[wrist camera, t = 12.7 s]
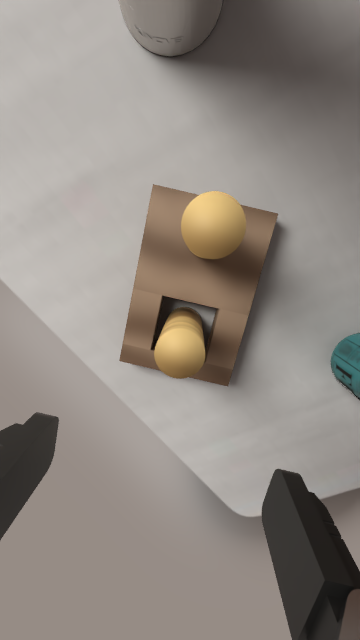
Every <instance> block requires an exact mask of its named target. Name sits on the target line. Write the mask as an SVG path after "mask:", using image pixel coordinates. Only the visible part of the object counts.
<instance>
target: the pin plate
mask: <svg viewBox="0 0 360 640" xmlns="http://www.w3.org/2000/svg"><path fill="white" fill-rule="evenodd" d="M277 216H278V214H277V213H273V212H269V211H264V210H260V209H256V208H252V207H247V206H243V205H240V204H239V203H238V202H237V200H235V199H234V198H233V197H232V196H230V195H228V194H226V193H223V192H218V191H212V192H206V193H203V194H201V195H196V194H192V193H188V192H184V191H179V190H175V189H171V188H167V187H162V186H158V185H154V184H153V188H152V193H151V198H150V203H149V209H148V214H147V219H146V224H145V230H144V235H143V240H142V245H141V251H140V256H139V261H138V266H137V271H136V277H135V282H134V287H133V292H132V298H131V303H130V308H129V313H128V319H127V324H126V329H125V334H124V340H123V345H122V350H121V355H120V361H122V362H126V363H130V364H135V365H139V366H143V367H147V368H152V369H156V370H160V369H159V367H158V366H157V364H156V362H155V357H154V350H155V346H156V344H155V343H154V339H155V334H156V330H157V325H158V320H159V316H160V311H161V307H162V302H163V297H164V296H167V297H171V298H176V299H180V300H184V301H188V302H193V303H197V304H201V305H205V306H210V307H214V308H217V309H216V313H215V317H214V321H213V325H212V328H211V332H210V336H209V340H208V344H207V347H206V351H205V361H204V364H203V366H202V367H201V369H200V370H199V371H198V372H197V373H196V374H194V375H192V376H190V378H194V379H199V380H203V381H207V382H212V383H216V384H220V385H224V386H228V384H229V381H230V378H231V374H232V371H233V367H234V364H235V360H236V357H237V353H238V350H239V347H240V343H241V340H242V336H243V333H244V329H245V326H246V323H247V319H248V316H249V312H250V309H251V305H252V302H253V298H254V295H255V292H256V288H257V285H258V281H259V278H260V274H261V271H262V268H263V264H264V261H265V257H266V254H267V250H268V247H269V243H270V240H271V237H272V233H273V230H274V226H275V223H276V219H277ZM160 371H161V370H160Z"/></svg>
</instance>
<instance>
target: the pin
mask: <svg viewBox="0 0 360 640" xmlns="http://www.w3.org/2000/svg"><path fill="white" fill-rule="evenodd" d="M154 357H155V362H156V364H157V366H158V367H159V369H160V370H161V371H162V372H163V373H165V374H166V375H168V376H170V377H173V378H187V377H190V376H192V375H194V374H196V373H197V372H198V371H199V370H200V369H201V367H202V366H203V364H204V361H205V346H204V337H203V329H202V321H201V318H200V316H199V314H198V313H197V312H196V311H195V310H193V309H191V308H188V307H180V308H177V309H175V310H173V311H172V312H171V313H170V314H169V316H168V318H167V320H166V323H165V325H164V327H163V330H162V332H161V334H160V337H159V339H158V341H157V344H156V346H155V350H154Z"/></svg>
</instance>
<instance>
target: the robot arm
mask: <svg viewBox="0 0 360 640" xmlns="http://www.w3.org/2000/svg"><path fill="white" fill-rule="evenodd" d="M118 1H119V4H120V8H121V11H122V14H123V17H124V20H125V22H126V25H127V27H128V29H129V30H130V32H131V34H132V35H133V37H134V38H135V39H136V40H137V41H138V42H139V43H140V44H141V45H142V46H143V47H145V48H146V49H148V50H149V51H151V52H154V53H156V54H159V55H165V56H176V55H182V54H184V53H187V52H189V51H192V50H193V49H194V48H196V47H197V46H199V45H200V44H201V43H202V42H203V41H204V40H205V39H206V38H207V37H208V36H209V34H210V33H211V31H212V30H213V28H214V26H215V25H216V22H217V20H218V17H219V15H220V12H221V7H222V2H223V0H118ZM58 422H59V419H58V417H55V416H51V415H47V414H43V413H35V414H34V415H33V416H32V417H31V418H29V419H28V420H27V421H26V422H25V423H24V424H23V425H21V424H14V425H12V426H9V427H8V428H5V429H3V430H1V431H0V540H1V538H2V537H3V535H4V534H5V532H6V531H7V530H8V528H9V527H10V525H11V524H12V522H13V521H14V519H15V518H16V516H17V515H18V513H19V512H20V510H21V509H22V507H23V506H24V505H25V503H26V502H27V500H28V499H29V497H30V496H31V494H32V493H33V491H34V490H35V488H36V487H37V486H38V484H39V483H40V481H41V480H42V478H43V477H44V475H45V474H46V472H47V471H48V469H49V467H50V465H51V462H52V459H53V456H54V451H55V443H56V437H57V430H58ZM262 522H263V527H264V531H265V535H266V538H267V543H268V546H269V550H270V554H271V558H272V562H273V566H274V570H275V574H276V578H277V582H278V586H279V590H280V594H281V598H282V602H283V606H284V610H285V613H286V617H287V621H288V625H289V629H290V633H291V637H292V640H360V571H359V569H358V567H357V565H356V564H355V562H354V560H353V558H352V556H351V554H350V552H349V550H348V548H347V546H346V544H345V542H344V540H343V539H341V535H340V533H339V531H338V529H337V527H336V526H334V521H333V519H332V518H331V516H330V514H329V512H328V510H327V508H326V507H325V505H324V504H323V503H322V502H321V501H320V500H319V499H318V497H317V496H316V495H315V494H314V493H311V492H308V490H307V487H306V485H305V483H304V481H303V479H302V477H301V476H300V474H298V473H294V472H290V471H286V470H281V469H276V470H275V472H274V474H273V476H272V479H271V482H270V485H269V488H268V490H267V493H266V496H265V499H264V502H263V506H262Z"/></svg>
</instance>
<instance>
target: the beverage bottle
mask: <svg viewBox="0 0 360 640" xmlns="http://www.w3.org/2000/svg"><path fill="white" fill-rule="evenodd" d="M331 368H332V371H333V373H334V375H335V377H336V379H338V380H339V382H341V383H342V384H343V385H344V386H346V387H347V388H348V389H349V390H350V391H352V393H353V394H354V395H355V396H356V397H357V398H358V399H359V400H360V333H357V334H353V335H350V336H348V337H346V338H345V339H343V340H342V341H341V342H340V343H339V344H338V345H337V346H336V348H335V349H334V351H333V354H332V357H331ZM343 385H342V386H343ZM344 386H343V387H344ZM346 387H345V388H346Z"/></svg>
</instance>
